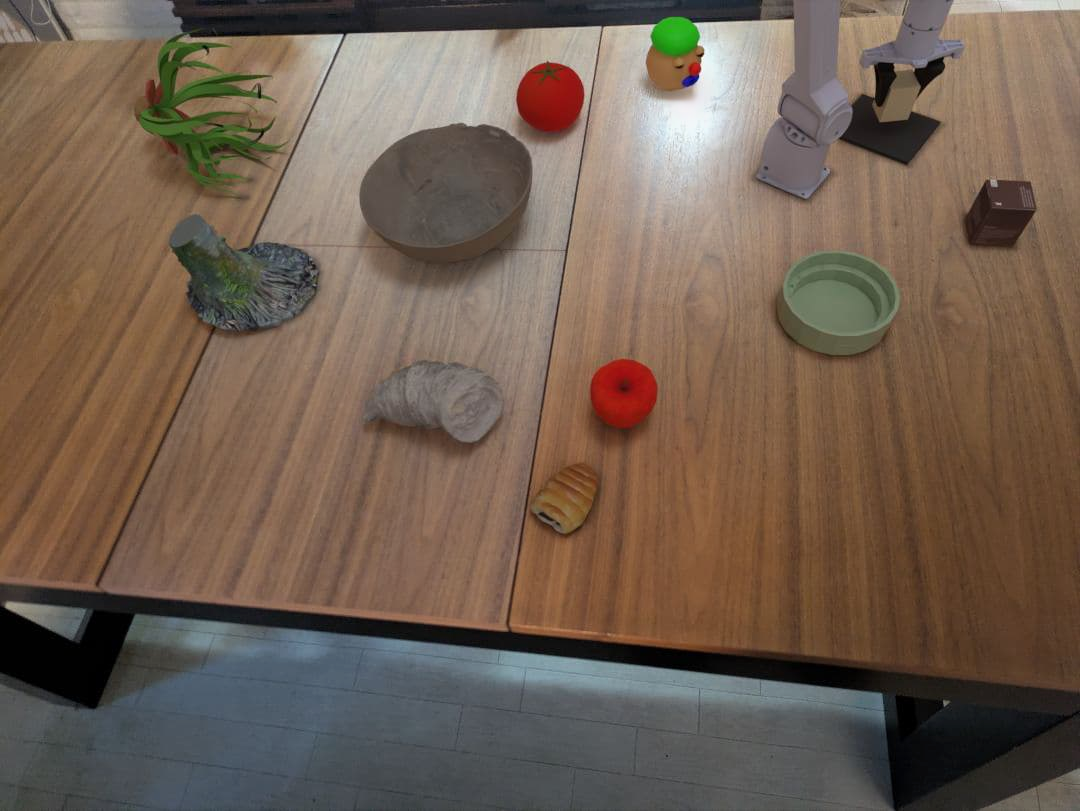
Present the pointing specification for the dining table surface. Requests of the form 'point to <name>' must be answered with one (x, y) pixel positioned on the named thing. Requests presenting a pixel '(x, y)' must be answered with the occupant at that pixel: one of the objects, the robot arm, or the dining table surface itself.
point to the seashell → (438, 399)
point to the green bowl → (837, 302)
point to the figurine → (674, 54)
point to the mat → (888, 132)
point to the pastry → (567, 497)
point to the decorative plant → (179, 125)
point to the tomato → (550, 97)
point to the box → (1000, 212)
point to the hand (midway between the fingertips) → (893, 101)
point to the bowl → (448, 191)
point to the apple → (623, 393)
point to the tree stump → (242, 278)
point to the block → (899, 97)
